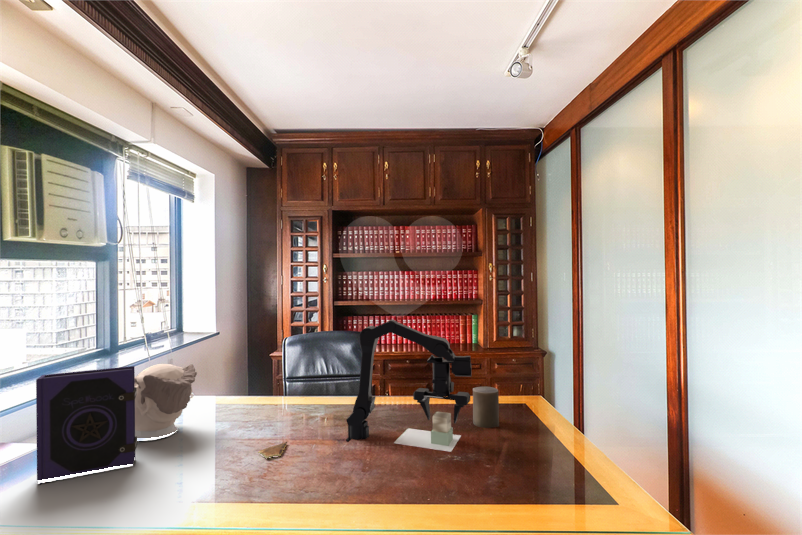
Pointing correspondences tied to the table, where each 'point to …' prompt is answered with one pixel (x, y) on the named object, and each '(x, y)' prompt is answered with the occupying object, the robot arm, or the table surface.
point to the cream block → (441, 422)
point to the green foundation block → (442, 437)
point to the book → (85, 421)
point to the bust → (161, 398)
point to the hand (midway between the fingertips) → (441, 421)
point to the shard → (273, 450)
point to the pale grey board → (424, 440)
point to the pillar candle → (485, 407)
